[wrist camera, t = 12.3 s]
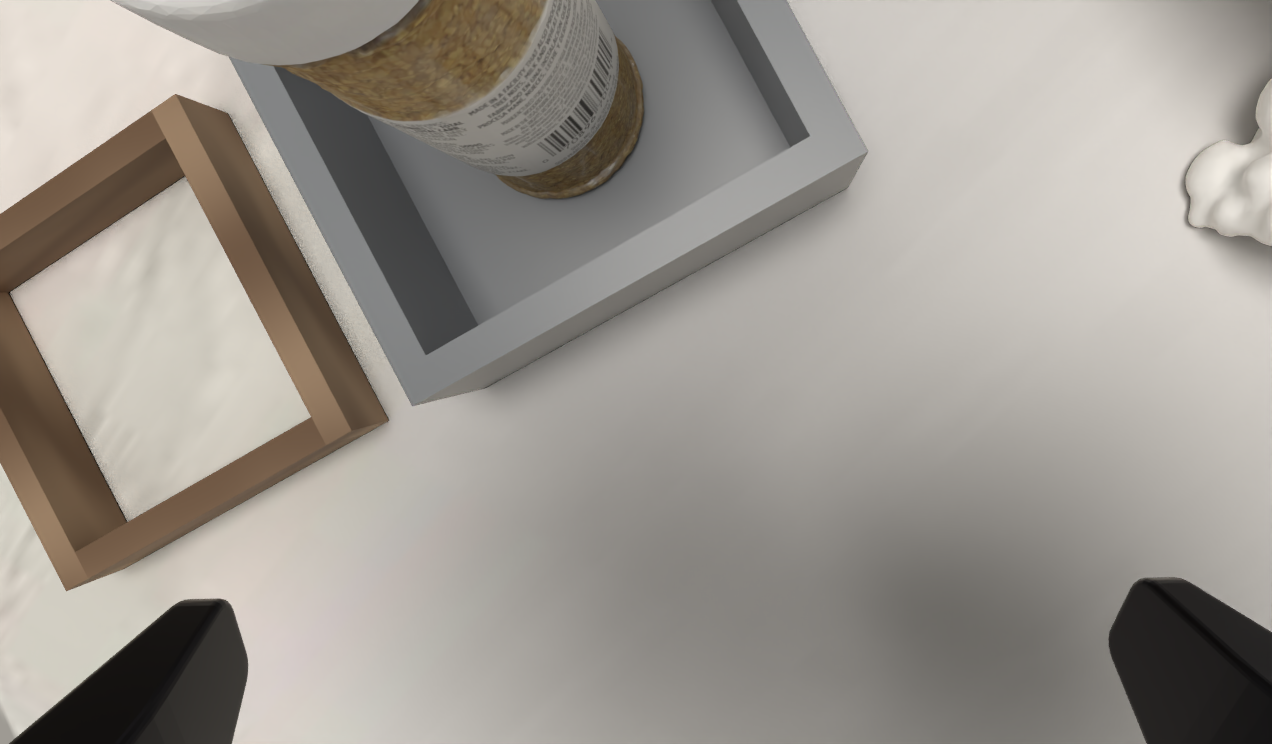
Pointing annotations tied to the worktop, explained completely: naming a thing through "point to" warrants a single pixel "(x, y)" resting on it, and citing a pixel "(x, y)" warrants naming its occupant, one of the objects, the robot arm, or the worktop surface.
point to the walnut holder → (275, 283)
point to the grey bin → (575, 226)
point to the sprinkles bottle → (450, 74)
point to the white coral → (1236, 182)
